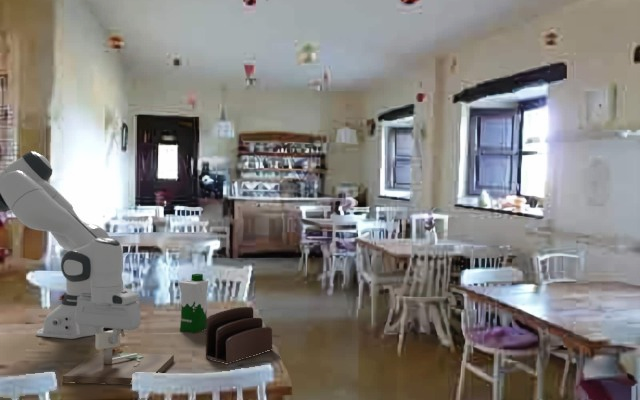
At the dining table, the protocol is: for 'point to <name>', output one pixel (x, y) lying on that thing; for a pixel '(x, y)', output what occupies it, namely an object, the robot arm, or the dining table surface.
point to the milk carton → (193, 304)
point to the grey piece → (108, 346)
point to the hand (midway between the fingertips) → (107, 342)
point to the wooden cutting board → (117, 368)
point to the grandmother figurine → (116, 346)
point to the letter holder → (236, 335)
